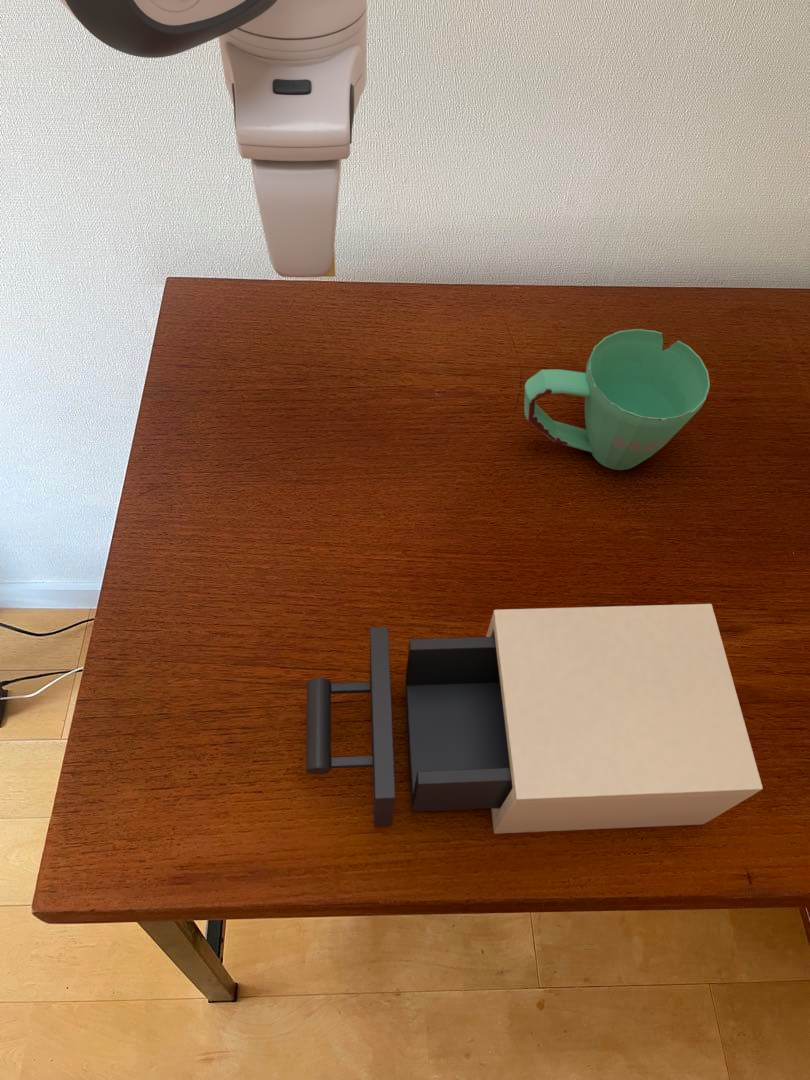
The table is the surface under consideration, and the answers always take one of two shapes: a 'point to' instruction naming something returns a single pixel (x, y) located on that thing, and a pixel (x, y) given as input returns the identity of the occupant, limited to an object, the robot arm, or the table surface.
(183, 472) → the table surface
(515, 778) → the beige cabinet housing
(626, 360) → the mug
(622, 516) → the table surface
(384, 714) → the drawer
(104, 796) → the table surface
